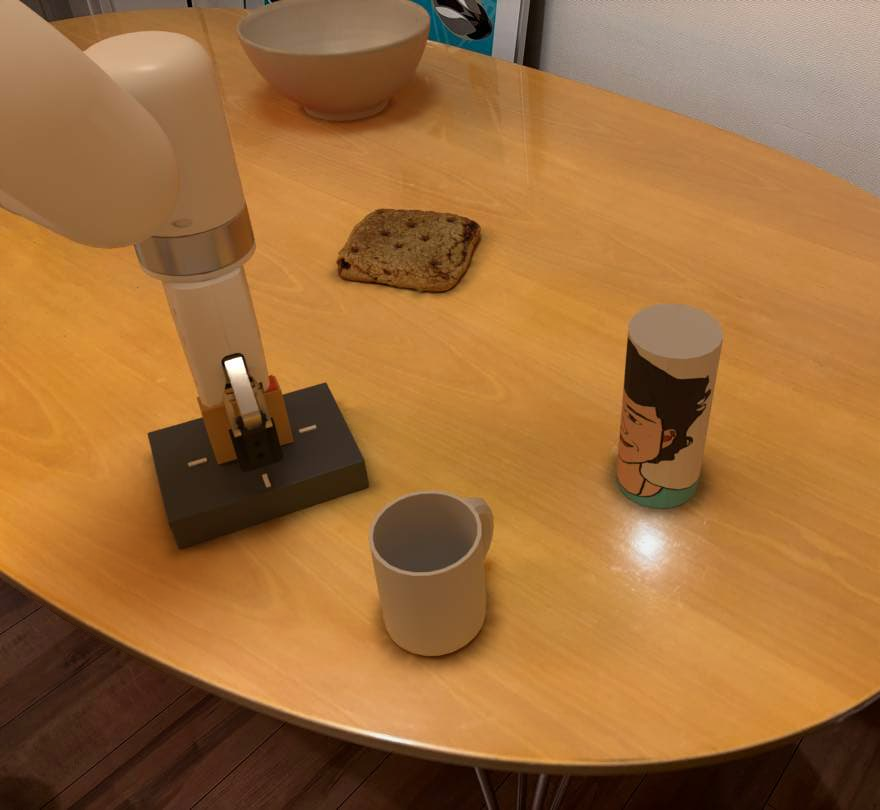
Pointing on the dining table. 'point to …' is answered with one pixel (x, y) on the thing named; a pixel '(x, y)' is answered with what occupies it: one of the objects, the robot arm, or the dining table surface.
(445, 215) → the pastry
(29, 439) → the dining table surface
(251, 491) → the plate
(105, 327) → the dining table surface
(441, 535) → the cup
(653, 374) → the printed cylinder
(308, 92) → the decorative bowl
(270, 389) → the red-cornered brown block
